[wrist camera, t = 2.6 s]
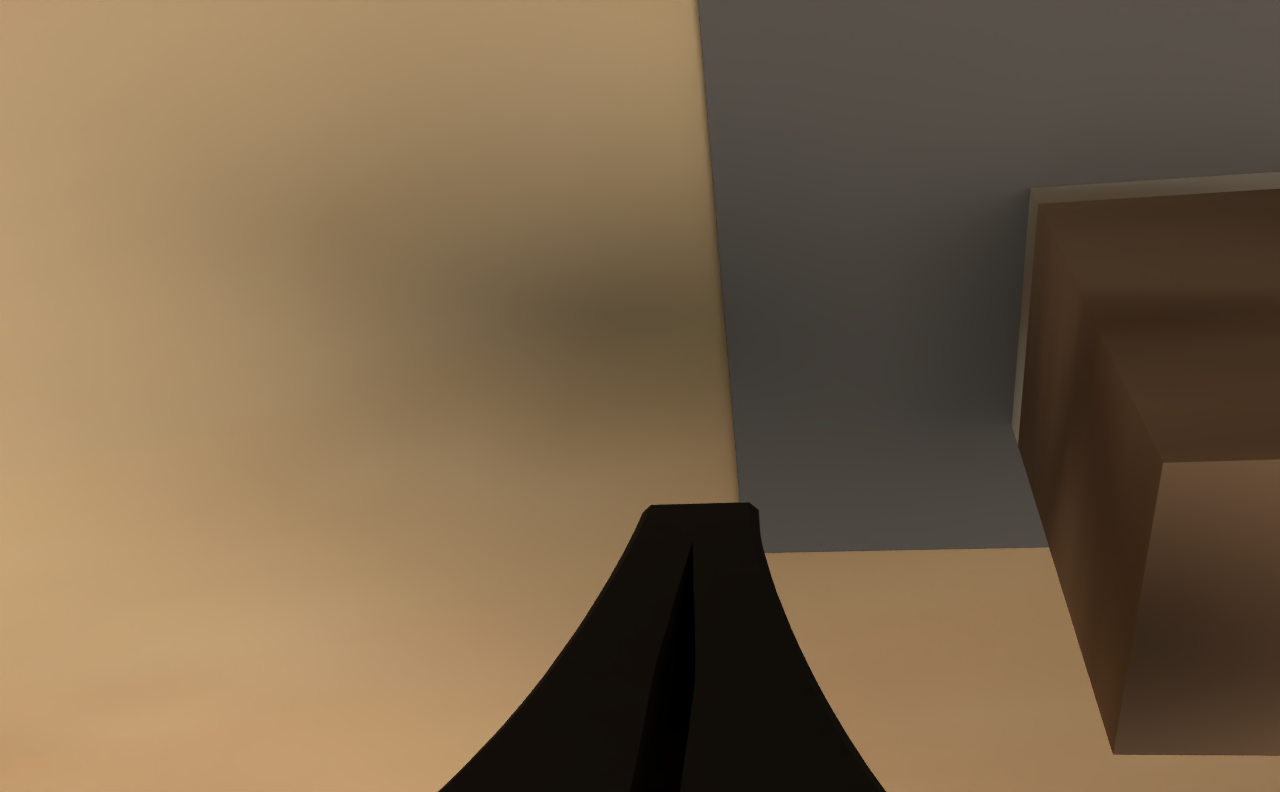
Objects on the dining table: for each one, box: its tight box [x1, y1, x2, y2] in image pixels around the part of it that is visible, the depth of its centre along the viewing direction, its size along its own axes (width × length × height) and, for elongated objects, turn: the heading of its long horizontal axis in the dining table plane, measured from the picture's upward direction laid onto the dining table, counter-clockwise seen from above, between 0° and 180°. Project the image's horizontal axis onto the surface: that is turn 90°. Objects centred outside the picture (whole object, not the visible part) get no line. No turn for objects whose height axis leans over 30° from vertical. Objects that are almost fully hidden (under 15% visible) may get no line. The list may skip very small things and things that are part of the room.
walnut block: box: [1012, 172, 1280, 756], centre depth 15 cm, size 4×4×7 cm
